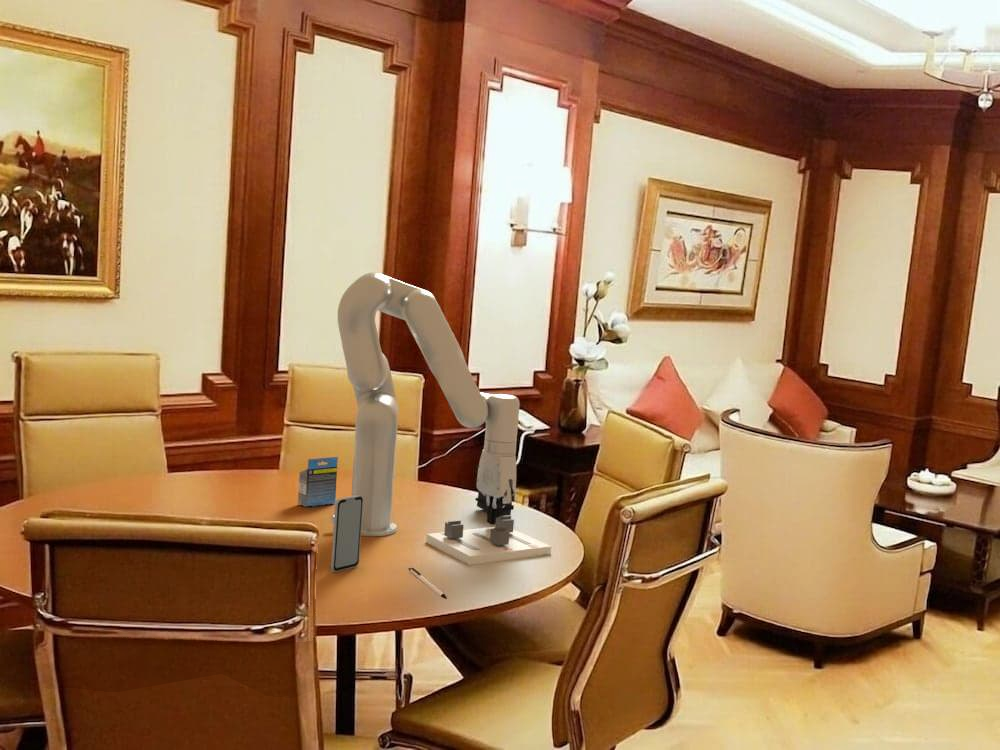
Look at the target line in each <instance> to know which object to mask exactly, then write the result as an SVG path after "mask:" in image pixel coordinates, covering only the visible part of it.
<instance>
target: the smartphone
mask: <svg viewBox="0 0 1000 750" xmlns="http://www.w3.org/2000/svg"><path fill="white" fill-rule="evenodd" d="M362 512H363V497H362V496H360V495H357V496H352V495H351V496H347V497H346V496H345V497H342V498H337V499H336V500H335V504H334V524H333V527H332V528H333V529H332V531H333V532H332V545H331V560H330V561H331V562H330V569H331V570H330V571H332V572H334V573H337V572H341V571H345V570H350V569H353V568H357V567H358V566H359V563H360V553H361V551H360V550H361V539H362V536H361V526H362Z"/></svg>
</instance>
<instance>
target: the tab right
mask: <svg viewBox="0 0 1000 750" xmlns="http://www.w3.org/2000/svg"><path fill="white" fill-rule="evenodd" d="M494 525H495V526H494V527H495V528H496V527H507V530H508V531H510V532H513V529H514V525H515V519H513V518H512V515H511V516H510V515H507V516H499V517H496V524H494ZM510 532H509V533H510Z"/></svg>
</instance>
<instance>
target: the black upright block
mask: <svg viewBox="0 0 1000 750" xmlns="http://www.w3.org/2000/svg"><path fill="white" fill-rule="evenodd" d="M475 466H476V469H474V472H475V473H477V474H478V469H479V463H478V464H476V465H475ZM475 486H476V487H475V488H477V484H475ZM477 490H478V489H477ZM477 492H478V494H477V497H475V498H474V499H475V501H476V502H477V503H476V506H477V508H479V509H481V510H483V511H485V512H486V513H487V512H488V507H489V506H487V499H486V497H485V496H484V495H483V494H482V493H481V491H479V490H478V491H477ZM514 508H515V506H514V504H513V496H512V497H511V503H507V504H505V506H504V508H503V510H502V516H507V515H510V516H511V517H512V515H511V514H512V511H513V510H514Z"/></svg>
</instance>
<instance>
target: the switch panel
mask: <svg viewBox="0 0 1000 750" xmlns="http://www.w3.org/2000/svg"><path fill="white" fill-rule="evenodd" d="M494 528H495V526H492V527H491V526H490V527H479V528H471V529H463V538H454V539H451V538H449V537H447V536H445V535H444V532H445V531H443V532H441V531H439V532H434V533H426V538H425V539H426V540H425V543H426V544H428V545H430V546H433V547H434V548H436V549H438V550H440V551H442V552H444V553H446V554H447V555H450V556H452V557H454V558H456V559H457V560H459V561H461V562H463V563H465V564H467V565H469V566H470V565H479V564H483V563H485V564H486V563H493V562H500V561H501V562H502V561H508V560H516V559H523V558H529V557H530V556H532V557H536V556H535V555H539V556H543V555H542V554H547V555H551V554H552V545H550V544H547V543H545V542H542V541H541V540H537V539H535V538H534V537H532V536H529V535H527V534H524V533H523V532H521V531H518V530H516V529H514V528H513V532H510V533H509V544H508V545H499V546H497V545H495V544H493V543H491V542H490V534H491V529H494ZM530 558H531V557H530Z"/></svg>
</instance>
